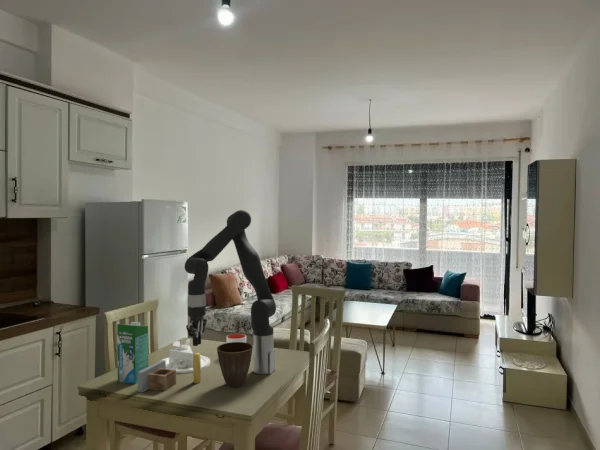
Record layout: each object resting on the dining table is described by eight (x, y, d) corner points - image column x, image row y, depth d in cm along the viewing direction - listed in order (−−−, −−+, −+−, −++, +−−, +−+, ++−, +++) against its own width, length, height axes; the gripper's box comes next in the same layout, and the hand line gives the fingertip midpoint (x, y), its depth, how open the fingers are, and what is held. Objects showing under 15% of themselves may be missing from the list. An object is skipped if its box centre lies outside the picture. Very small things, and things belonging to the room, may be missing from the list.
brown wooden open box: (176, 384, 190) (176, 369, 190) (165, 390, 183) (164, 376, 183) (160, 381, 193) (160, 367, 193) (148, 388, 185) (148, 374, 185)
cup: (244, 358, 224) (244, 338, 224) (224, 358, 224) (224, 338, 224) (247, 352, 234) (247, 333, 234) (228, 352, 234) (228, 333, 234)
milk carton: (148, 377, 199) (148, 320, 198) (134, 384, 190) (134, 325, 190) (131, 374, 202) (131, 319, 201) (117, 381, 193) (116, 323, 193)
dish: (147, 364, 216) (147, 341, 216) (194, 353, 233) (194, 332, 233) (171, 378, 198) (171, 352, 198) (220, 365, 215) (220, 342, 215)
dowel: (201, 380, 194) (201, 353, 194) (198, 383, 191) (198, 355, 191) (195, 380, 195) (195, 352, 195) (192, 382, 192) (191, 354, 192)
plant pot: (238, 394, 179) (238, 354, 179) (209, 387, 187) (209, 349, 186) (259, 382, 192) (259, 344, 192) (231, 376, 200) (231, 340, 199)
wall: (165, 378, 197) (165, 360, 197) (142, 392, 182) (141, 372, 181) (161, 378, 197) (161, 360, 197) (137, 391, 182) (137, 372, 182)
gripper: (197, 301, 200) (197, 340, 200) (180, 307, 187) (180, 348, 187) (212, 302, 198) (212, 341, 198) (196, 308, 184) (196, 350, 185)
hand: (196, 344), depth 192 cm, fingers closed
